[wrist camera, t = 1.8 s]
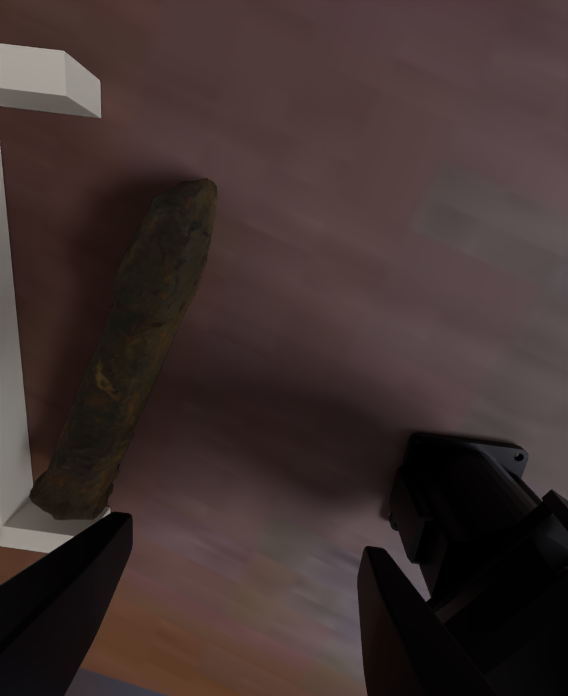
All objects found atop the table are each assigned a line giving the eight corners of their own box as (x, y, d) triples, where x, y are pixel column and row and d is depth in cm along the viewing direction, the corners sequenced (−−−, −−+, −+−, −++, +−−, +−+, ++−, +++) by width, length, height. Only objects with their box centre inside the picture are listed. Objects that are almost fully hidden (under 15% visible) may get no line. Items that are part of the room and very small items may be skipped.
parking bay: (100, 80, 16) (63, 50, 13) (110, 526, 23) (88, 558, 20) (-40, 64, 16) (-100, 31, 14) (13, 512, 23) (-21, 543, 21)
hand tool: (120, 488, 22) (75, 548, 18) (61, 459, 22) (1, 514, 17) (266, 218, 17) (255, 208, 13) (195, 174, 17) (158, 148, 13)
